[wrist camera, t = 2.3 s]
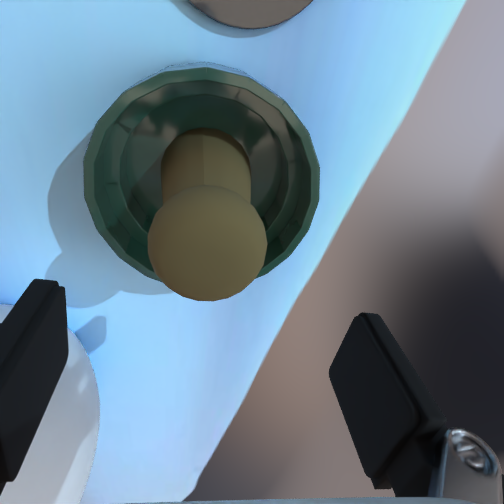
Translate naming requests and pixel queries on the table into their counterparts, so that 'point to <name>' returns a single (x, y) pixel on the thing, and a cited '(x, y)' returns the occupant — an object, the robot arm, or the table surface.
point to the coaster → (250, 11)
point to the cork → (206, 218)
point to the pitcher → (61, 436)
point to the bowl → (187, 118)
